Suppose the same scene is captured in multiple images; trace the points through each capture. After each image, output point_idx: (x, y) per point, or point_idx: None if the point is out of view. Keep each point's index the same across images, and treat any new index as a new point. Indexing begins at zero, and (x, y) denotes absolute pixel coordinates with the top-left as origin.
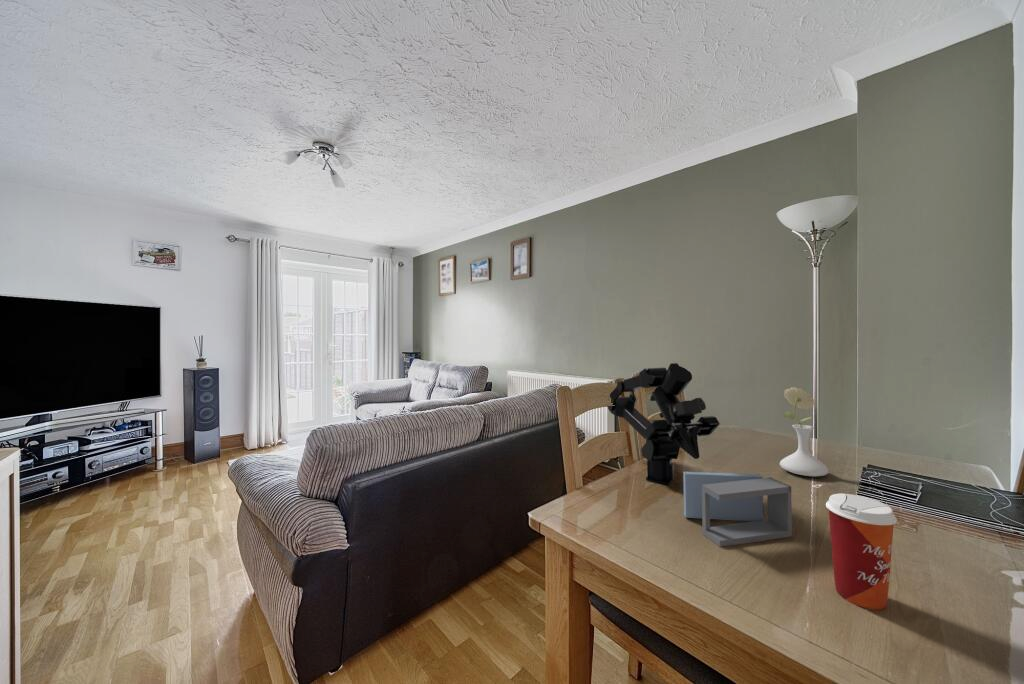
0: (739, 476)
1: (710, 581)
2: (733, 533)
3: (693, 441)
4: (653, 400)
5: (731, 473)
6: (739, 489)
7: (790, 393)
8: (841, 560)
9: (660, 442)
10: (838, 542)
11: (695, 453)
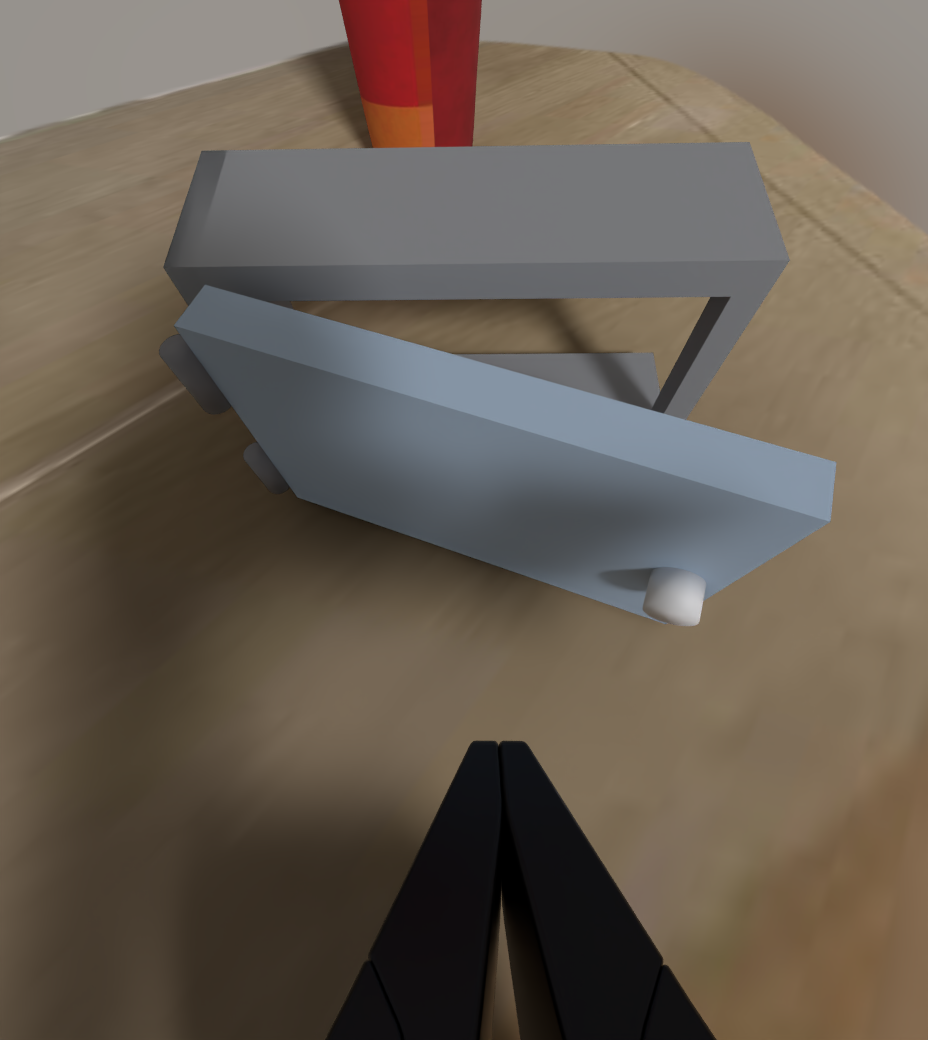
0: (366, 332)
1: (785, 245)
2: (556, 383)
3: (471, 1037)
4: None
5: (384, 381)
6: (566, 168)
7: None
8: (479, 30)
9: None
10: None
11: (529, 774)
